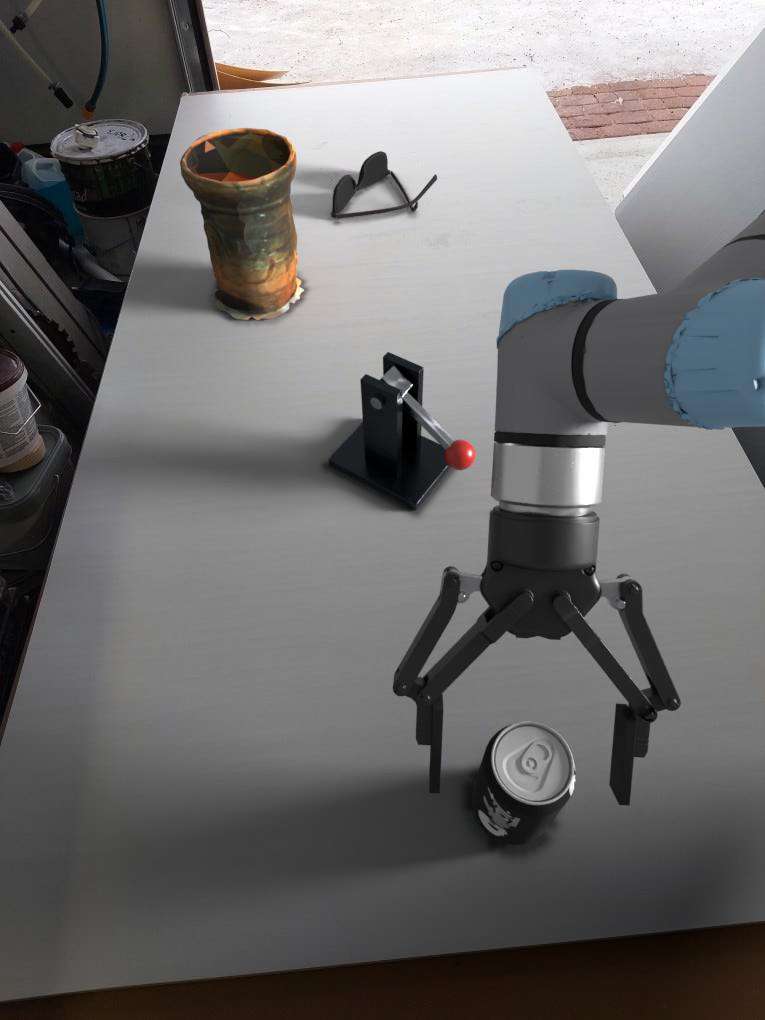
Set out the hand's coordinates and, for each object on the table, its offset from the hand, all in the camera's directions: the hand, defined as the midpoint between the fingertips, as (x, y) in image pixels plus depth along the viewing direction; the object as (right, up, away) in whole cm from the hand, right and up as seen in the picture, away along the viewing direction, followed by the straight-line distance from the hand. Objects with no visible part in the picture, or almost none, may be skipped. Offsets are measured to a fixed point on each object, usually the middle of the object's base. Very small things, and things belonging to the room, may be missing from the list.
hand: (525, 789), depth 51 cm
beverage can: (0, -4, +7) cm, 8 cm away
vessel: (-28, +53, +49) cm, 77 cm away
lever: (-7, +30, +22) cm, 37 cm away
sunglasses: (-9, +71, +62) cm, 95 cm away
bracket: (-9, +26, +29) cm, 40 cm away
